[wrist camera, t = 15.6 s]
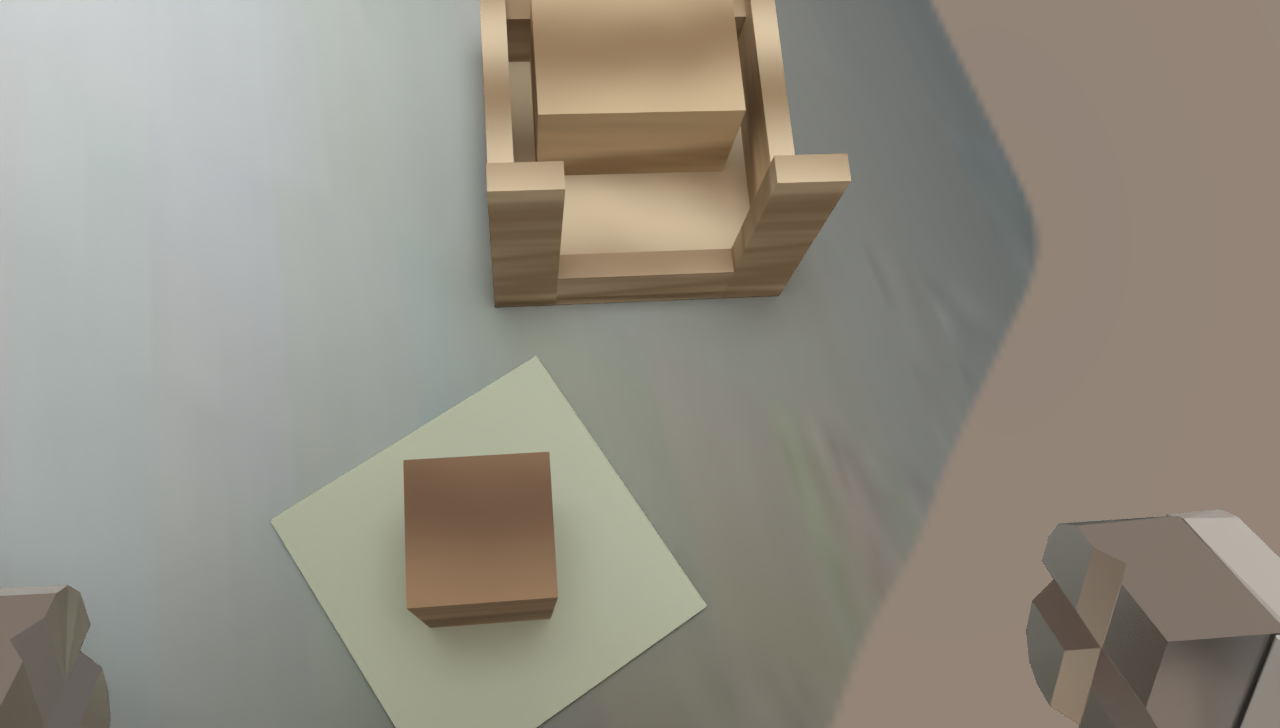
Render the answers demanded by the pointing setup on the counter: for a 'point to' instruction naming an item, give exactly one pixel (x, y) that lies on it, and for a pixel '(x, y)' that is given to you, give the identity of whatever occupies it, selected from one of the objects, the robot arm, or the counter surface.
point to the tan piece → (644, 152)
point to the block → (479, 539)
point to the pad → (496, 652)
